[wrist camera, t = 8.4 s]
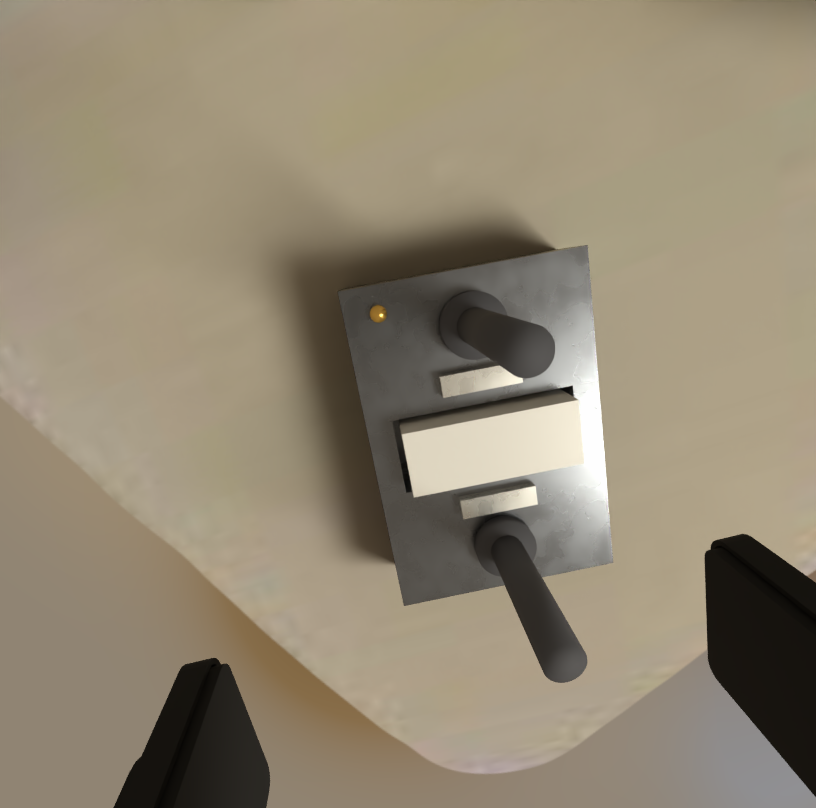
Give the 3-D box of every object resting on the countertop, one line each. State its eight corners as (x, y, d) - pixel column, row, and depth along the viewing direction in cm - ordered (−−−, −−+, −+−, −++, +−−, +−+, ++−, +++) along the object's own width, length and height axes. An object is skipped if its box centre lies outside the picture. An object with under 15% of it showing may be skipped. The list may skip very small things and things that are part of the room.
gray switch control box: (341, 289, 41) (336, 292, 34) (556, 249, 41) (592, 244, 35) (399, 565, 47) (404, 612, 41) (583, 527, 48) (617, 568, 41)
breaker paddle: (396, 409, 42) (401, 434, 36) (545, 380, 43) (578, 399, 36) (406, 463, 44) (413, 497, 37) (551, 434, 44) (584, 463, 37)
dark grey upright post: (433, 297, 35) (470, 309, 23) (499, 284, 36) (573, 290, 23) (444, 362, 37) (485, 409, 24) (508, 350, 37) (582, 390, 24)
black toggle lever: (470, 522, 40) (518, 636, 27) (528, 510, 40) (602, 619, 28) (478, 573, 41) (528, 706, 29) (534, 561, 42) (609, 688, 29)
